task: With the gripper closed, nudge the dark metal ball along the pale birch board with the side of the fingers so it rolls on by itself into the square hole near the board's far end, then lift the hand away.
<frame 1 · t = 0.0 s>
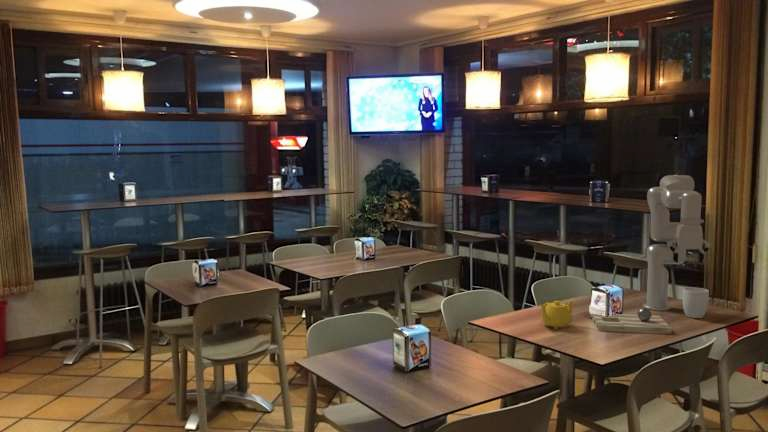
hand: (687, 262, 276), 31 cm above the table, tool pointing down, fingers open, 9 cm apart
runway board: (629, 325, 292), on the table
teapot: (554, 326, 292), on the table
ball: (644, 314, 290), point 5 cm above the table, touching runway board
mug: (695, 316, 308), on the table
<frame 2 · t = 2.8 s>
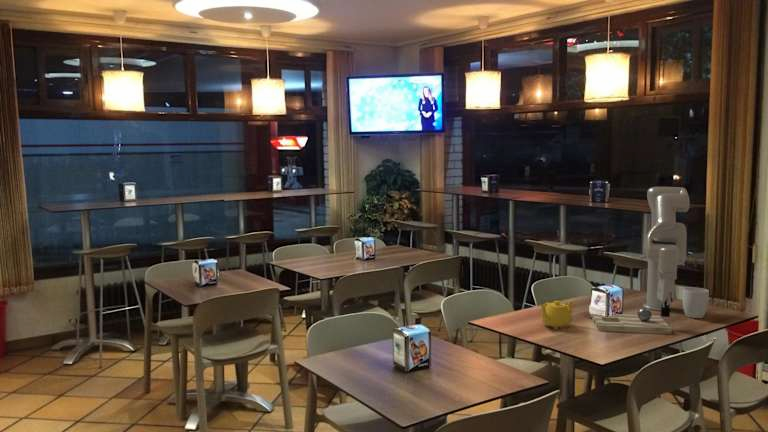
hand: (665, 316, 288), 5 cm above the table, tool pointing down, fingers closed
nothing on the table moved.
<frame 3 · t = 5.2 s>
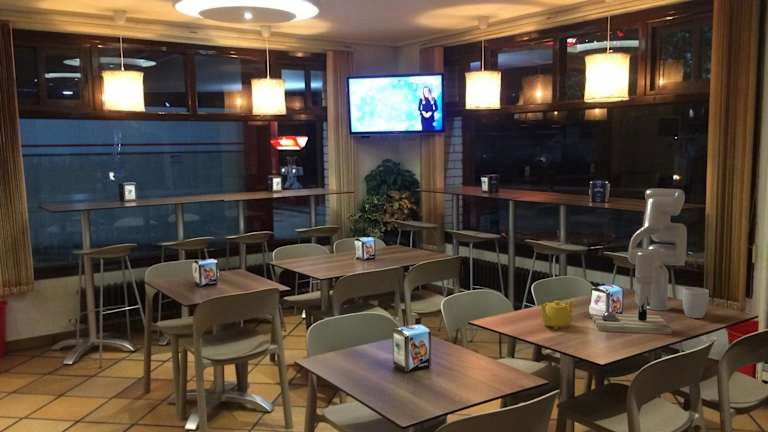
hand: (642, 320, 290), 3 cm above the table, tool pointing down, fingers closed
ball: (609, 318, 294), point 3 cm above the table, tilted 78°
everything else where it was.
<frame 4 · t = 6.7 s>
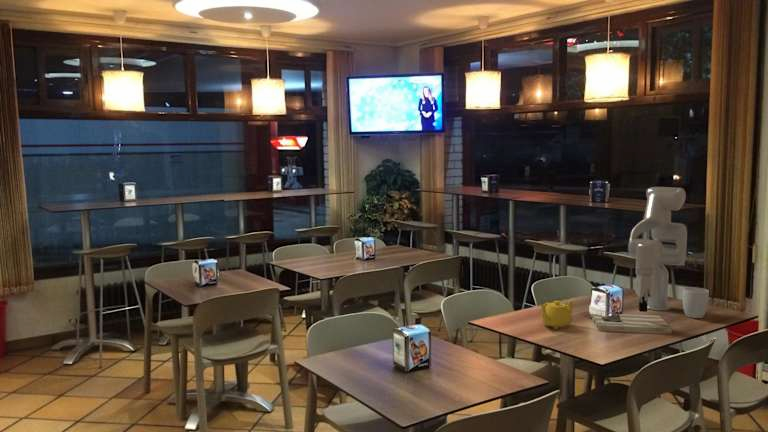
hand: (643, 311, 290), 7 cm above the table, tool pointing down, fingers closed
ball: (613, 318, 292), point 3 cm above the table, tilted 103°
everything else where it was.
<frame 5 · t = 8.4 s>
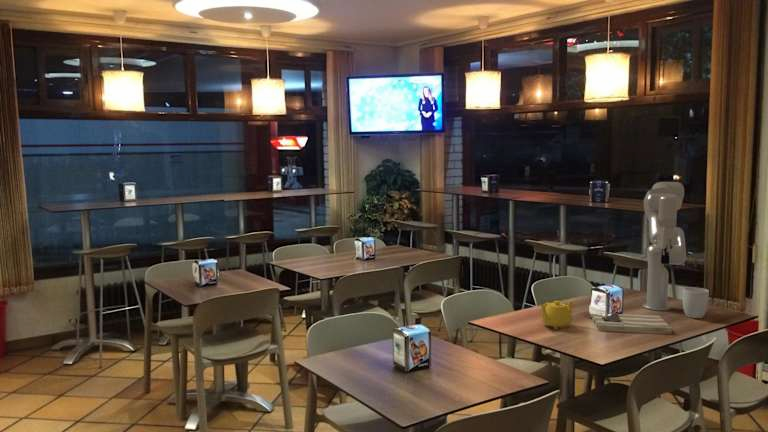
hand: (664, 263, 295), 27 cm above the table, tool pointing down, fingers closed
nothing on the table moved.
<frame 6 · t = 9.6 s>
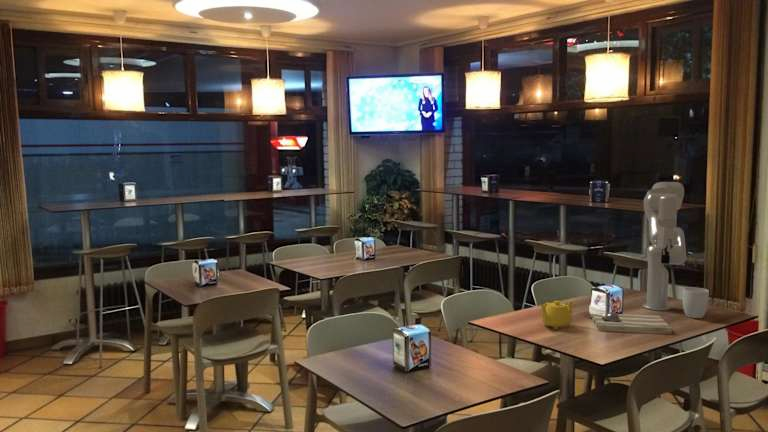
hand: (665, 263, 295), 27 cm above the table, tool pointing down, fingers closed
nothing on the table moved.
at the end: ball 0.7 cm from the target spot on the runway board, point 3.0 cm above the runway board's base; ball moved 13.9 cm from its start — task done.
